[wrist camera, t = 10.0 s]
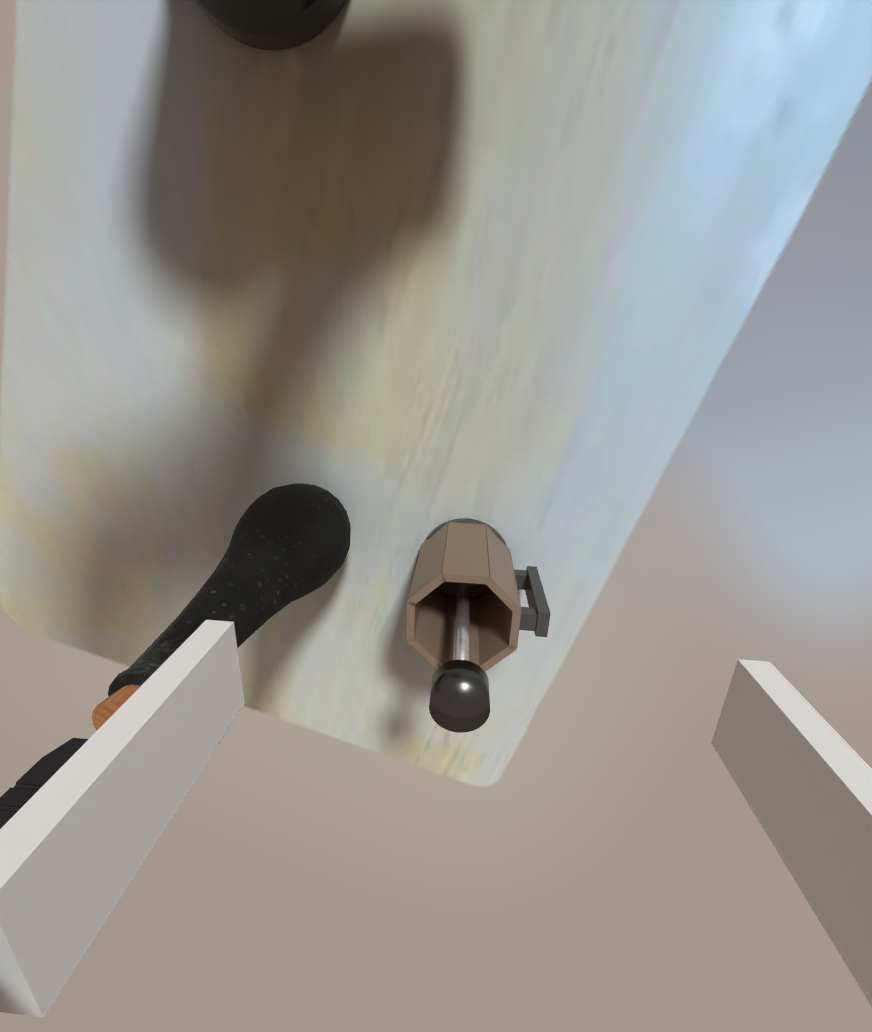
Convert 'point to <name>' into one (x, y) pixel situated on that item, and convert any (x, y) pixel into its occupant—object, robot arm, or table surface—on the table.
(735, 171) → the table surface
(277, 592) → the bottle
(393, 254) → the table surface
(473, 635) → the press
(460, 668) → the plunger
